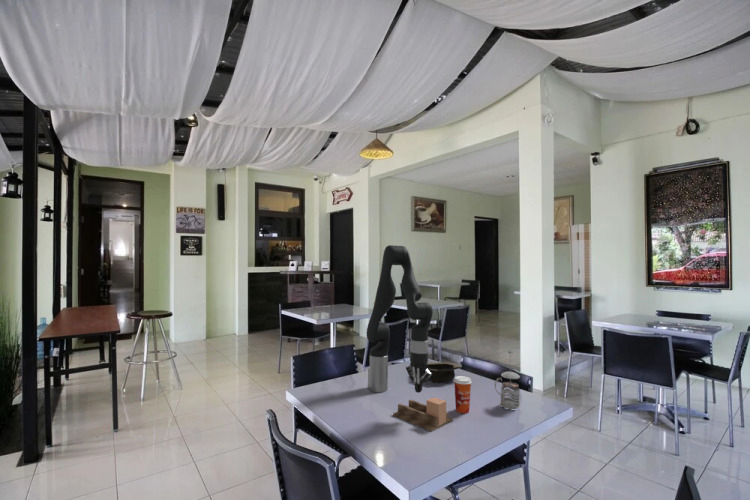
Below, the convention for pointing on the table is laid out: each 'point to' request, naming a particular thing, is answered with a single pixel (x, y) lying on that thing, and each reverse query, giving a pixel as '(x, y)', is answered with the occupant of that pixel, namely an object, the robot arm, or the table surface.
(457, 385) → the paper cup
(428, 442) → the table surface
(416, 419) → the chute
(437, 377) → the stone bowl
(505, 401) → the french press
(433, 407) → the block
